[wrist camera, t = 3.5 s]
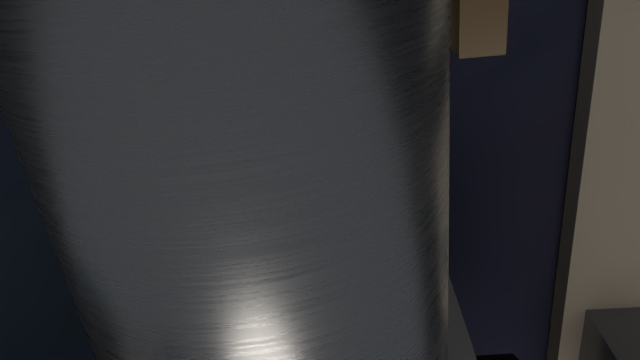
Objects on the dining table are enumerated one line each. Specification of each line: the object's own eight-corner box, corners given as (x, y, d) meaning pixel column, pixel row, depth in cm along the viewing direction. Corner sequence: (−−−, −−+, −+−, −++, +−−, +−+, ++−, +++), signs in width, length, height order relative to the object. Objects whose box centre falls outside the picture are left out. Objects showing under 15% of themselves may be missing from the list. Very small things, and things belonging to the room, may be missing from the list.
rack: (456, 405, 22) (481, 511, 18) (249, 412, 23) (229, 516, 19) (465, -96, 14) (513, -102, 10) (142, -59, 15) (66, -51, 11)
